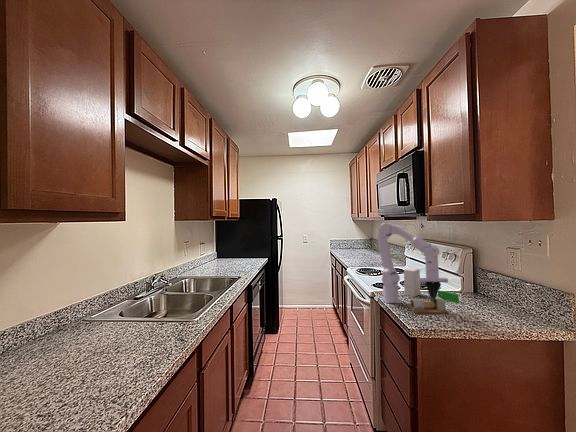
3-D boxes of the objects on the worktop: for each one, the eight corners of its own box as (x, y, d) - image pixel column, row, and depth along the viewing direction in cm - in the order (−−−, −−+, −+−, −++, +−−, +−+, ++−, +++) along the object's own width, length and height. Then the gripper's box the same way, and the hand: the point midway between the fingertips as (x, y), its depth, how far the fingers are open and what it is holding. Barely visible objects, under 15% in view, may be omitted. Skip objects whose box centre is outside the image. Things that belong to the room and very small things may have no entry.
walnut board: (406, 306, 144) (406, 304, 144) (435, 305, 144) (435, 304, 144) (416, 314, 132) (416, 311, 132) (448, 313, 132) (448, 311, 132)
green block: (461, 302, 149) (461, 294, 149) (457, 303, 148) (457, 295, 148) (442, 297, 159) (442, 289, 159) (438, 298, 158) (437, 290, 158)
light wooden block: (421, 305, 140) (420, 292, 140) (437, 305, 139) (436, 291, 139) (423, 307, 137) (423, 293, 137) (440, 307, 136) (439, 293, 136)
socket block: (431, 305, 141) (431, 296, 141) (438, 305, 141) (437, 296, 141) (438, 309, 134) (437, 300, 134) (445, 309, 134) (445, 300, 134)
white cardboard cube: (410, 306, 140) (410, 298, 140) (420, 306, 140) (420, 298, 140) (414, 309, 136) (413, 301, 136) (424, 309, 136) (424, 301, 136)
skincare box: (410, 292, 171) (409, 267, 171) (421, 294, 166) (420, 268, 166) (403, 295, 166) (403, 269, 166) (414, 297, 161) (413, 270, 161)
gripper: (420, 271, 134) (421, 299, 134) (451, 271, 134) (452, 299, 134) (414, 269, 142) (415, 295, 141) (443, 268, 141) (444, 295, 141)
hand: (432, 296), depth 138 cm, fingers closed on light wooden block
